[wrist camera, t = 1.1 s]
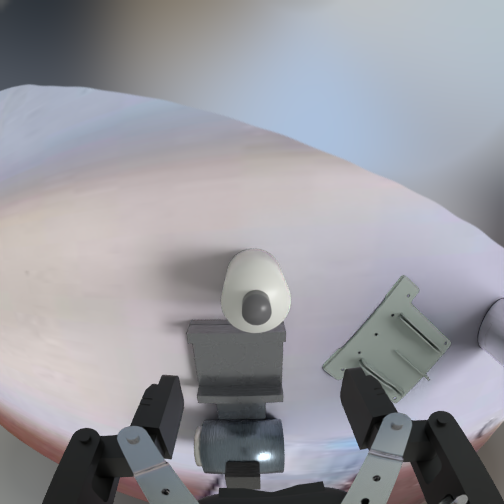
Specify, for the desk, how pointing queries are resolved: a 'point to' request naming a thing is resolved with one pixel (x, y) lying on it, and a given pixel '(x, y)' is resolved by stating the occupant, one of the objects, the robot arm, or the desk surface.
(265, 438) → the motor
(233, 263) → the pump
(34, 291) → the desk surface
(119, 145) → the desk surface
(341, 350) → the metal bracket
